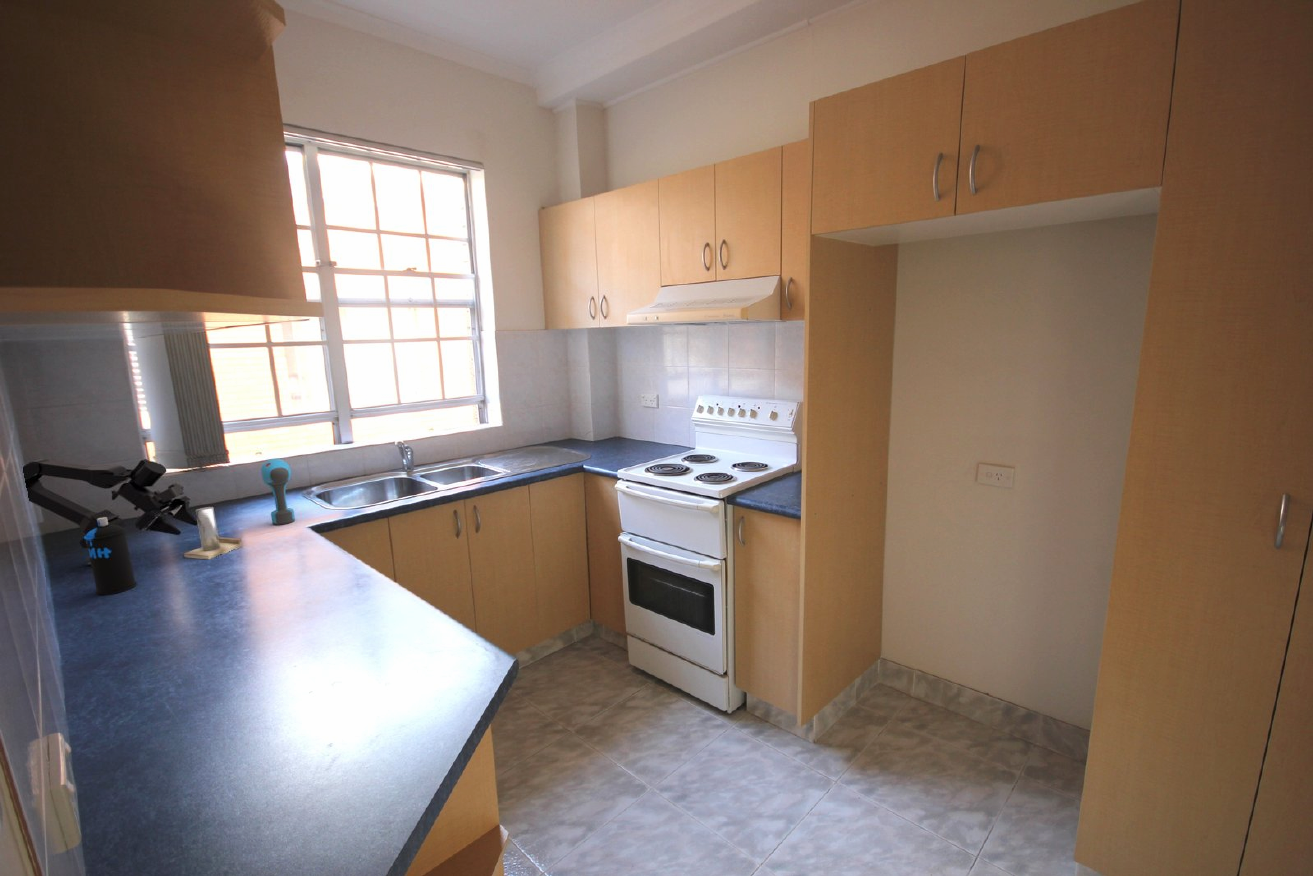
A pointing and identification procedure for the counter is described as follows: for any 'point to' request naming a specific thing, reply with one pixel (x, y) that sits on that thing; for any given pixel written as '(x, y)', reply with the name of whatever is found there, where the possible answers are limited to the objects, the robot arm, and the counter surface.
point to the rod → (207, 529)
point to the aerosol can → (110, 558)
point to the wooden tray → (225, 547)
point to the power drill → (278, 489)
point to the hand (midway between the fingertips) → (188, 529)
